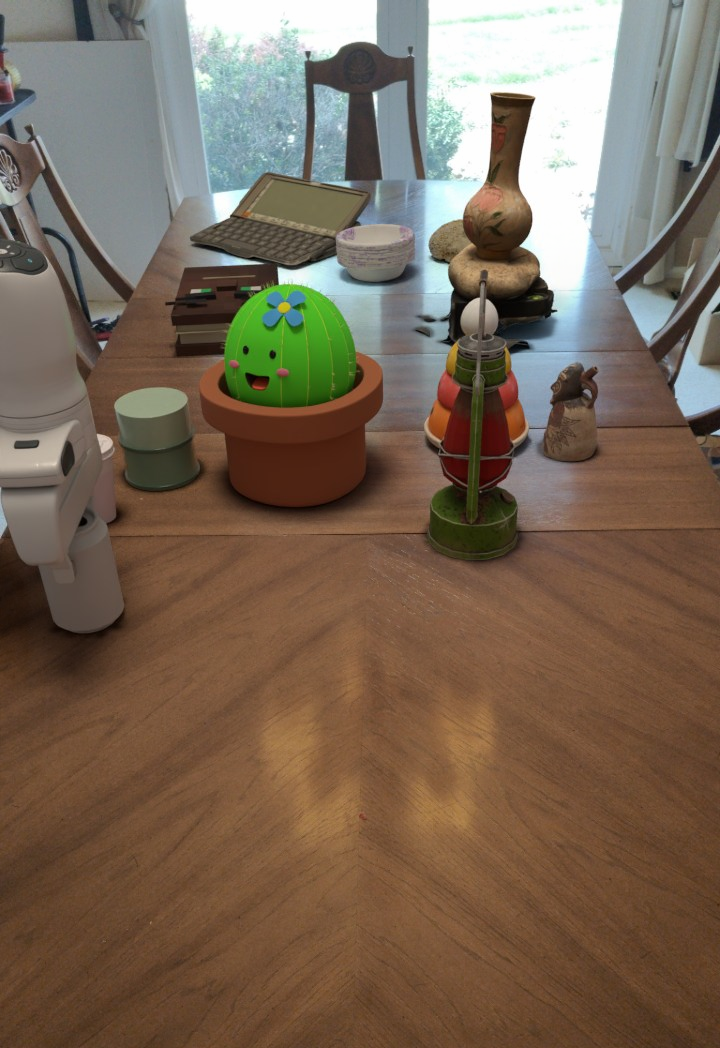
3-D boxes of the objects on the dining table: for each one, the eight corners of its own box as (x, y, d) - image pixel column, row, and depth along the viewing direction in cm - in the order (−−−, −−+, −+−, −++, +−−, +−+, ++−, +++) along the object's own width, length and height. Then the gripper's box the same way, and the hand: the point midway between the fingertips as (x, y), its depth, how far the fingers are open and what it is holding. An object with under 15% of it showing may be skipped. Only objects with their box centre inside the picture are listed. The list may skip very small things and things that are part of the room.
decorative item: (441, 250, 191) (424, 216, 195) (439, 285, 199) (423, 251, 203) (499, 235, 192) (481, 202, 197) (495, 271, 200) (478, 238, 204)
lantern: (517, 570, 109) (539, 299, 90) (421, 565, 110) (424, 297, 92) (519, 507, 120) (539, 254, 101) (432, 503, 121) (436, 252, 103)
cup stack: (119, 492, 126) (104, 420, 120) (132, 457, 134) (119, 387, 127) (195, 490, 126) (184, 417, 120) (204, 454, 133) (194, 385, 127)
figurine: (556, 433, 135) (564, 349, 128) (604, 446, 132) (615, 360, 125) (532, 453, 131) (539, 367, 124) (581, 467, 127) (591, 379, 120)
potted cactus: (268, 427, 140) (251, 245, 124) (409, 455, 132) (410, 264, 116) (180, 497, 124) (149, 299, 109) (334, 534, 116) (324, 325, 101)
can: (140, 614, 104) (119, 516, 97) (80, 647, 100) (54, 547, 93) (98, 588, 108) (76, 492, 101) (40, 619, 104) (12, 521, 97)
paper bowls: (334, 266, 198) (332, 224, 193) (408, 261, 199) (408, 220, 194) (341, 290, 186) (339, 246, 181) (420, 285, 187) (420, 241, 182)
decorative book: (283, 254, 180) (282, 310, 156) (286, 295, 184) (285, 356, 161) (178, 259, 179) (160, 315, 156) (184, 300, 184) (167, 361, 160)
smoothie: (85, 502, 124) (62, 398, 115) (134, 505, 123) (114, 400, 114) (66, 529, 119) (40, 421, 110) (117, 531, 118) (95, 423, 109)
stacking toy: (451, 409, 142) (455, 273, 131) (543, 429, 137) (556, 287, 125) (405, 450, 133) (405, 306, 121) (502, 472, 127) (512, 323, 115)
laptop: (269, 219, 228) (265, 170, 222) (375, 241, 211) (374, 189, 205) (187, 245, 213) (180, 193, 206) (294, 271, 196) (290, 216, 190)
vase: (586, 330, 166) (612, 96, 144) (484, 362, 156) (497, 116, 135) (495, 295, 181) (506, 79, 160) (397, 321, 172) (396, 96, 150)
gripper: (39, 383, 99) (69, 503, 108) (-21, 480, 83) (20, 612, 91) (101, 381, 99) (126, 501, 108) (53, 477, 83) (88, 610, 91)
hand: (77, 553), depth 99 cm, fingers open, 8 cm apart
